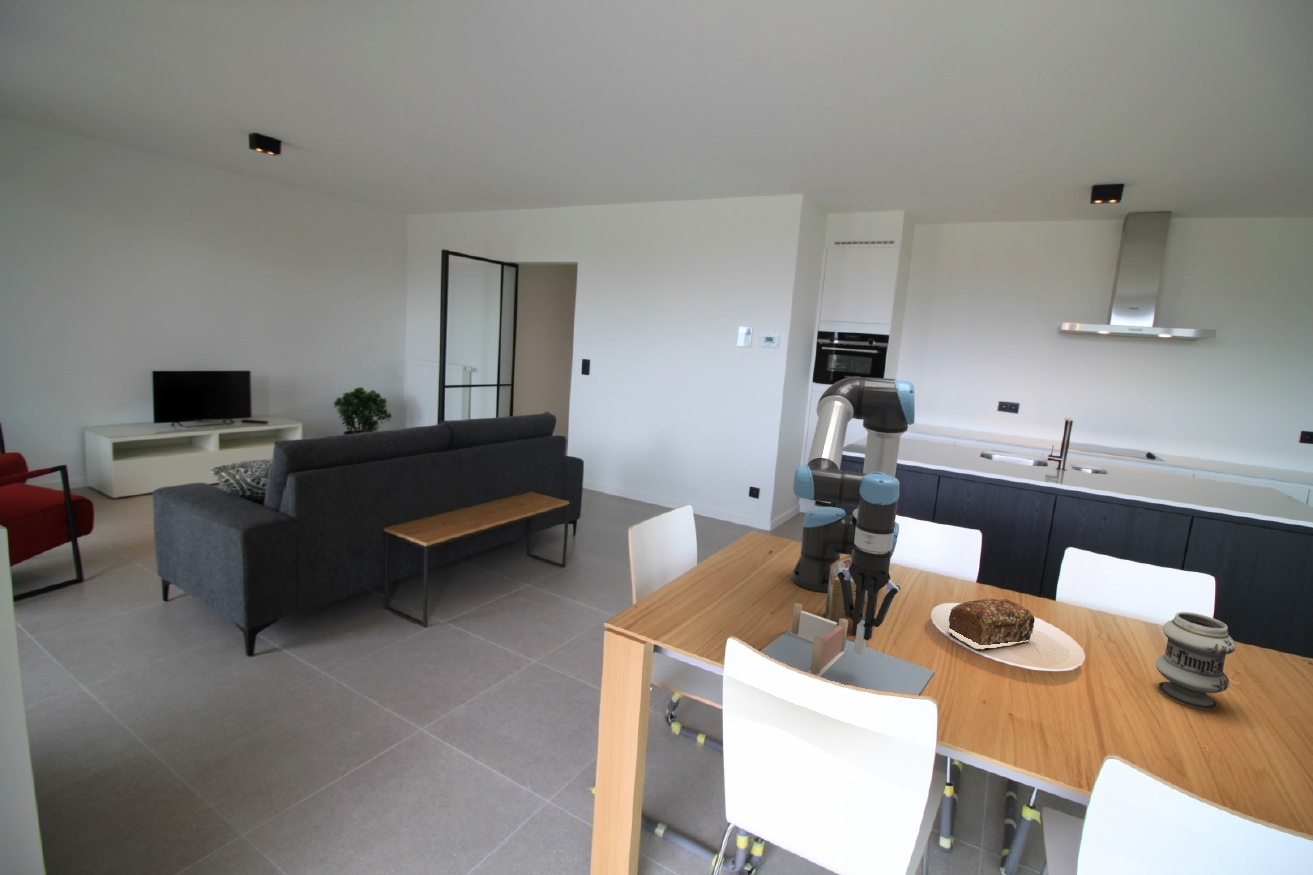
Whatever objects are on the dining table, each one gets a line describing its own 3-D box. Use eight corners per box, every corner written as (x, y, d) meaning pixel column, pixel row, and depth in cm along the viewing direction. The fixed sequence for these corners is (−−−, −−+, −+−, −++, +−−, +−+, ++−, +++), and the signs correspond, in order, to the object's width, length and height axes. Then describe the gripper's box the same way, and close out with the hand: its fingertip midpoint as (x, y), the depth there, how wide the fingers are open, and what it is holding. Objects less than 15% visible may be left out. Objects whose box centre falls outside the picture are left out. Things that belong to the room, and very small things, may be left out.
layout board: (798, 624, 155) (798, 622, 155) (934, 673, 135) (934, 670, 135) (756, 655, 138) (756, 653, 138) (904, 717, 118) (905, 714, 118)
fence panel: (834, 648, 141) (837, 619, 140) (842, 651, 140) (845, 621, 139) (808, 670, 131) (812, 639, 130) (817, 674, 130) (820, 642, 128)
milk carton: (871, 638, 150) (880, 566, 147) (827, 631, 152) (836, 560, 149) (865, 619, 160) (874, 552, 157) (825, 614, 162) (832, 547, 159)
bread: (979, 653, 146) (985, 615, 144) (944, 633, 156) (949, 597, 154) (1033, 644, 152) (1039, 607, 151) (996, 625, 162) (1002, 590, 161)
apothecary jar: (1150, 675, 140) (1165, 602, 137) (1220, 696, 133) (1237, 620, 130) (1150, 696, 131) (1166, 619, 128) (1225, 720, 123) (1244, 639, 121)
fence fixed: (793, 630, 150) (796, 602, 149) (846, 649, 142) (849, 620, 141) (789, 632, 149) (792, 604, 148) (842, 652, 141) (846, 623, 139)
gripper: (835, 544, 127) (824, 646, 131) (898, 561, 119) (884, 669, 123) (848, 535, 133) (837, 634, 137) (909, 551, 125) (895, 655, 129)
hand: (859, 650), depth 130 cm, fingers closed
